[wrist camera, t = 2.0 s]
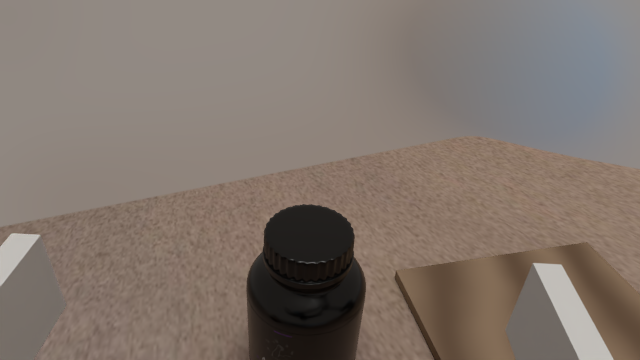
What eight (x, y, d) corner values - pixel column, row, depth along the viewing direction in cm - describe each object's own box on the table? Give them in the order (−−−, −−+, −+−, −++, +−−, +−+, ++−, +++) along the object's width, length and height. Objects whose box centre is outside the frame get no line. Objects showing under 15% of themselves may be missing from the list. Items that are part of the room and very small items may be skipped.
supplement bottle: (263, 431, 28) (255, 291, 21) (242, 338, 34) (230, 202, 27) (370, 400, 30) (394, 262, 23) (334, 316, 35) (345, 184, 29)
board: (584, 248, 43) (587, 242, 42) (725, 391, 32) (732, 384, 31) (394, 277, 39) (396, 270, 38) (480, 451, 28) (483, 444, 27)
